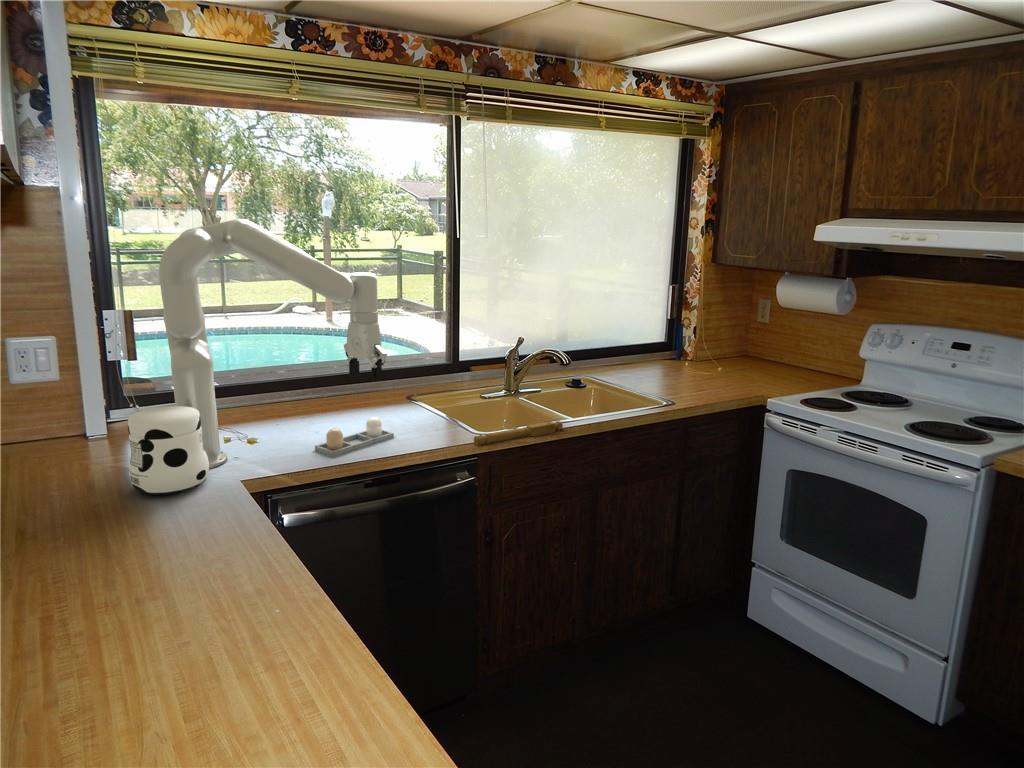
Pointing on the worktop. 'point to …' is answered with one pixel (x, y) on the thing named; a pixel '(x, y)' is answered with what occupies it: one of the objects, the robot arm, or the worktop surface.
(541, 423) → the brown long rod
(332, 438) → the brown egg
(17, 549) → the worktop surface
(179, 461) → the milk container
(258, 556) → the worktop surface
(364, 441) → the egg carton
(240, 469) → the worktop surface
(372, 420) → the white egg
